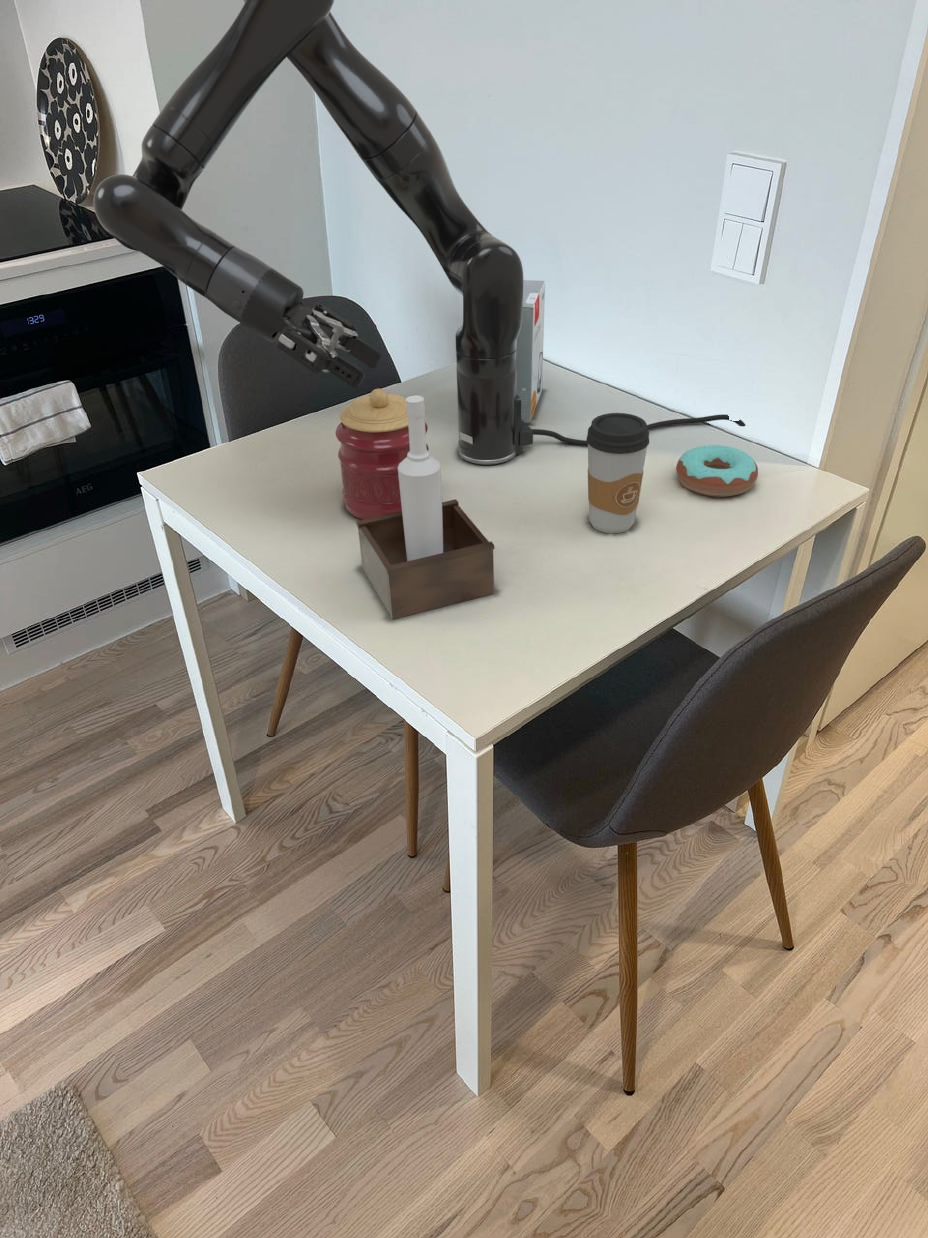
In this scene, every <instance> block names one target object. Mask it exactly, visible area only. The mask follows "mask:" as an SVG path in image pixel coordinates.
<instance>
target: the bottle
mask: <svg viewBox="0 0 928 1238" xmlns="http://www.w3.org/2000/svg"><path fill="white" fill-rule="evenodd" d="M406 406H407V415H408V428H409V443H410V451H409V452H408V454H407V457H406V458H405V459H404V460H403V461H402V462H401V463H400V464H399V466H398V476H399V485H400V495H401V505H402V515H403V525H404V535H405V544H406V554H407V561H411V560H415V559H419V558H424V557H428V556H432V555H436V554H440V553H443V522H442V502H443V492H442V491H443V490H442V489H443V488H442V464H441V462H440V460H438V459H436V458H435V457H433V456H432V455H431V453H430V451H428V450H427V448H426V443H427V433H426V432H425V422H426V418H425V417H426V416H425V415H426V409H425V398H424V397H423V396H422V395H416V394H415V395H410V396H407V397H406Z"/></svg>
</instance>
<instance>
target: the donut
mask: <svg viewBox="0 0 928 1238" xmlns="http://www.w3.org/2000/svg"><path fill="white" fill-rule="evenodd" d="M675 471H676V475H677V479H678V481H679V482H680V483H681V485H683V486H684V487H685V488H687V489H688V490H690V491H693V492H695V493H697V494H700V495H703V496H708V497H716V498H717V497H719V498H725V497H732V496H737V495H740V494H743V493H745V492H747V491H749V490H750V489H751V488H752V487H753V486H754V484H755V483H756V481H757V480H758V477H759V467H758V464H757V462H756V461H755V459H754V458H753V457H752V456H751V455H750V454H748V453H747V452H746V451H743V450H741V449H738V448H735V447H731V446H727V445H719V444H710V445H709V444H707V445H701V446H700V445H699V446H696V447H693V448H690V449H688V450H686V451H685V452H684V453H683V454H682V455H681V456H680V457H679V458H678V460H677V463H676V467H675Z"/></svg>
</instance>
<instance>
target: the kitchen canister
mask: <svg viewBox="0 0 928 1238" xmlns="http://www.w3.org/2000/svg"><path fill="white" fill-rule="evenodd" d="M406 398H407V397H406ZM406 398H405V397H404V396H402V395H398V394H393V393H388V392H387V391H386V390H385V389H383V388H375V389H373V390H372V391H371V392H370V393H369V394H368V395H364V396H361V397H359V398H357V399H355V400H353V401H351V403H350V404H348V405H347V406H345V407H344V408H343V409H342V410H341V411H340V413H339V420H340V423H339V424H338V425H337V427H336V429H335V437H336V439H337V441H338V442H340V447H339V449H338V452H337V453H338V454H337V457H338V460H339V463H340V472H341V473H340V474H341V480H342V499H343V502H344V504H345V507H346V511H348V513H350V514H351V515H352V516H353V517H355V518H357V519H359V520H364V519H369V518H373V517H378V516H382V515H387V514H391V513H396V512H400V511H402V505H401V495H400V485H399V476H398V466H399V464H400V463H401V462H402V461H403V460H404V459H405V458H406V457H407V454H408V452H409V451H410V443H409V428H408V415H407V406H406ZM428 427H429V426H428V424H427V422H426V421H425V432H426V434H427V433H428ZM426 448H427V450H428V451H429V449H430V448H429V445H428V443H427V442H426ZM429 452H430V451H429Z"/></svg>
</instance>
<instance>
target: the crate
mask: <svg viewBox="0 0 928 1238" xmlns="http://www.w3.org/2000/svg"><path fill="white" fill-rule="evenodd" d="M442 522H443V553H440V554H436V555H432V556H428V557H424V558H419V559H415V560H411V561H407V554H406V544H405V535H404V525H403V515H402V511H400V512H396V513H391V514H387V515H382V516H378V517H373V518H369V519H364V520H362V519H359V520H356V522H355V523H356V526H357V533H358V541H359V550H360V560H361V569H362V571H363V572H364V574H365V575H366V577H367V579H368V581H369V582H370V583H371V586H372V587H373V589H374V591H375V592H376V594H377V596H378V598H379V599H380V601H381V602H382V604H383V607H385V609H386V611H387V613H388V615H389V616H390V617H391V619H392V620H397V619H400V618H404V617H408V616H413V615H416V614H420V613H424V612H428V611H431V610H436V609H440V608H443V607H448V606H450V605H454V604H460V603H463V602H466V601H471V600H474V599H479V598H482V597H486V596H490V595H494V594H495V590H494V589H495V588H494V587H495V584H494V583H495V580H494V579H495V576H494V575H495V574H494V573H495V572H494V571H495V569H494V550H495V544H494V543H493V541H489V540H488V538H486V536H485V535H484V534H483V533H482V531H480V529H479V528H478V527H477V525H476V524H475V523H474V522H473V521H472V520H471V518H470V517H469V516H468V515H467V514H466V512H465V511H464V510H463V508H461V506H459V501H458V499H456V498H455V499H451V500H446V501H442Z"/></svg>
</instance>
